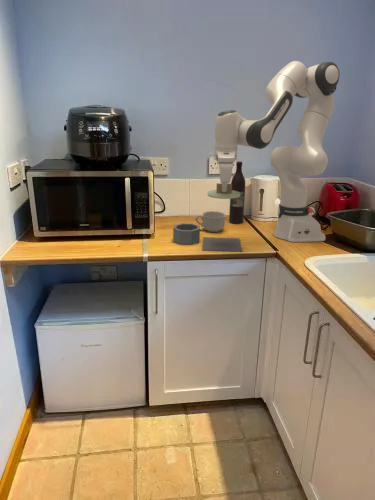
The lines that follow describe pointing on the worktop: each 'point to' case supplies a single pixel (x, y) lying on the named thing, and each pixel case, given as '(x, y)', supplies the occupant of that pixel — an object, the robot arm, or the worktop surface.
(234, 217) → the wine bottle
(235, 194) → the lid
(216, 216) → the teacup
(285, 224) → the robot arm
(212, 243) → the mat
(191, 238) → the octagonal grey bowl
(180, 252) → the worktop surface
